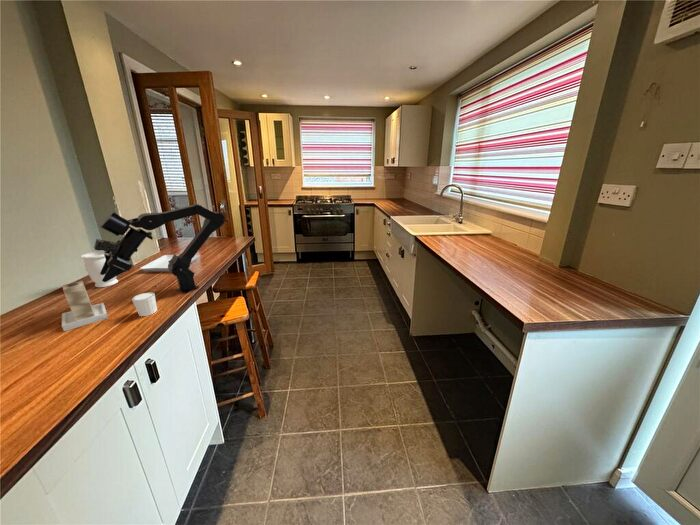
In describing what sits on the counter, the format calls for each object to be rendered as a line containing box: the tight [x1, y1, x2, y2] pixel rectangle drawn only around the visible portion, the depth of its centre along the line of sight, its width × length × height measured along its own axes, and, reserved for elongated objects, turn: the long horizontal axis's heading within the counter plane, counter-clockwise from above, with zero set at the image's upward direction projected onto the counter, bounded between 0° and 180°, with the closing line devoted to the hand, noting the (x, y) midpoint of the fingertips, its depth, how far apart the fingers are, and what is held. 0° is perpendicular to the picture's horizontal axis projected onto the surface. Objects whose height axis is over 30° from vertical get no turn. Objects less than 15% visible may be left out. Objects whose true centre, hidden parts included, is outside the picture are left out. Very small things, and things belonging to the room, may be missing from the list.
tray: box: [61, 302, 109, 332], centre depth 101 cm, size 12×12×2 cm
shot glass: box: [131, 292, 158, 318], centre depth 103 cm, size 7×7×7 cm
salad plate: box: [139, 254, 201, 272], centre depth 151 cm, size 21×21×3 cm
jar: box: [80, 250, 119, 288], centre depth 128 cm, size 11×10×15 cm
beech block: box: [62, 280, 95, 321], centre depth 99 cm, size 5×5×13 cm
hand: (102, 277), depth 102 cm, fingers open, 9 cm apart
